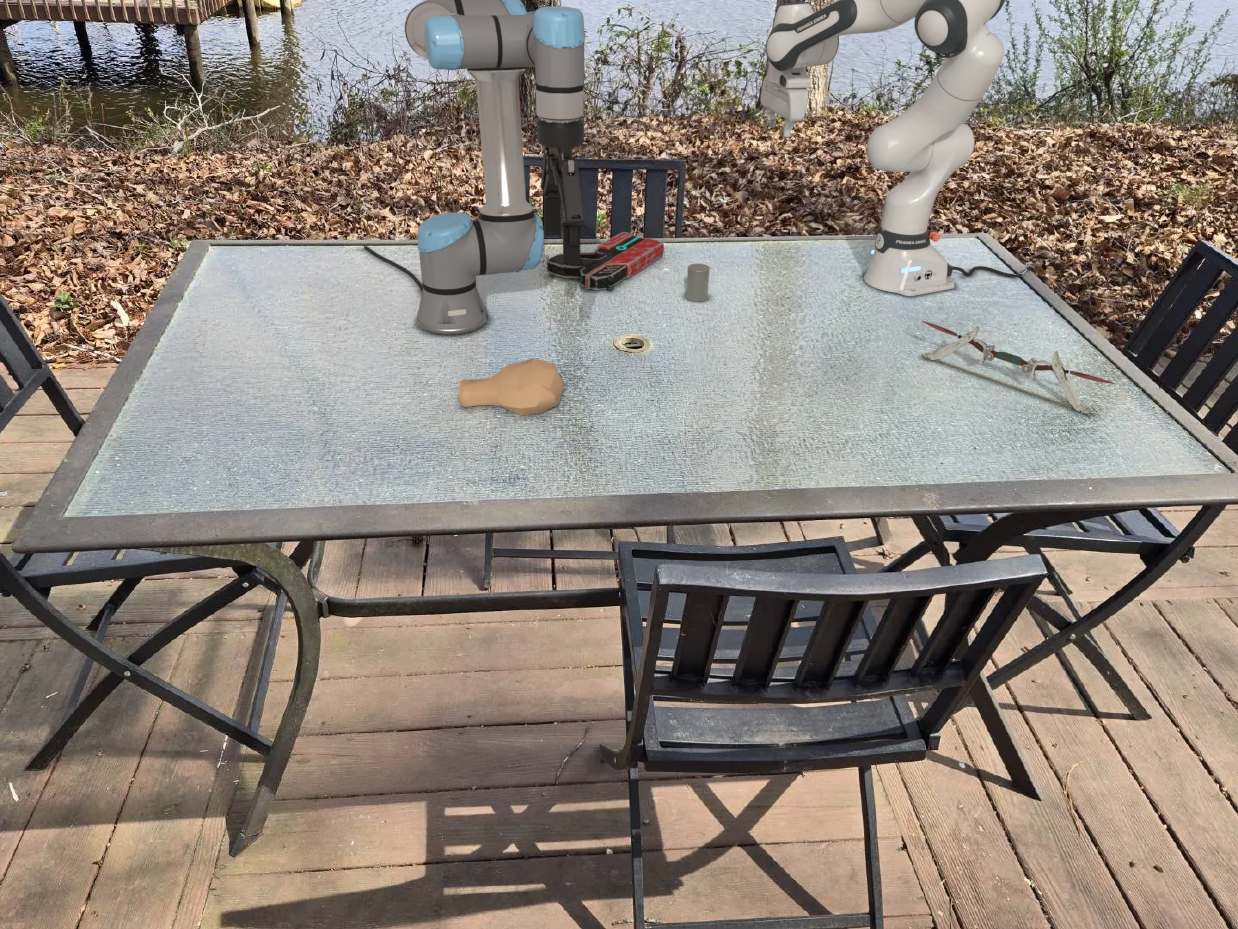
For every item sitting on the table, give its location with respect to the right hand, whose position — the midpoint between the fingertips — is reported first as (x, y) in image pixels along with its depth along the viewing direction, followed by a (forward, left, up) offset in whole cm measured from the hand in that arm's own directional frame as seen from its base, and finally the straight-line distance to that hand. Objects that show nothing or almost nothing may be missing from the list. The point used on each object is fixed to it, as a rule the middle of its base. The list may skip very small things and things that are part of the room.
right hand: (778, 131), depth 227 cm
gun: (+47, +9, -30) cm, 57 cm away
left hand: (+72, +77, +1) cm, 105 cm away
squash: (+81, +75, -30) cm, 115 cm away
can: (+30, +32, -30) cm, 53 cm away
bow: (-18, +86, -30) cm, 93 cm away
